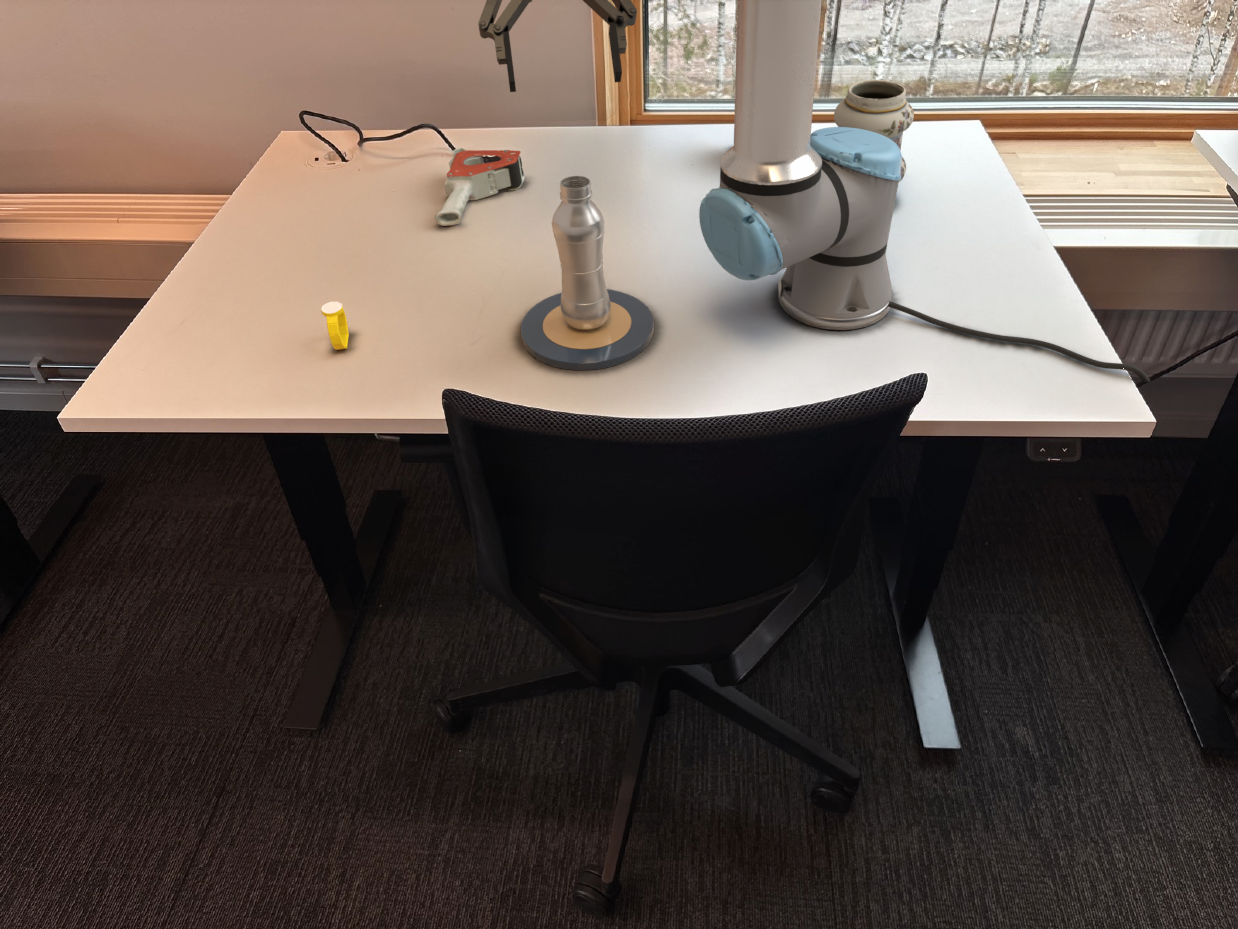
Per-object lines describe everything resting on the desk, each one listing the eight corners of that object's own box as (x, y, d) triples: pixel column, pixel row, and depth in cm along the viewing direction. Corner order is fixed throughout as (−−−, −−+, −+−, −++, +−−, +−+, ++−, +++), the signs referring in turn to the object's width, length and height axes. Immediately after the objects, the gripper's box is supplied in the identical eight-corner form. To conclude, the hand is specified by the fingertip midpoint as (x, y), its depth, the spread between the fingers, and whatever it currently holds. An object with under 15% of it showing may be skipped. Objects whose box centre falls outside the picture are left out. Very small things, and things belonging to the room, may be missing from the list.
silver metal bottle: (606, 337, 118) (597, 195, 104) (556, 333, 119) (541, 192, 106) (616, 311, 123) (608, 171, 109) (568, 307, 124) (555, 169, 110)
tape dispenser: (445, 240, 145) (549, 197, 152) (438, 211, 141) (545, 168, 148) (399, 197, 155) (499, 158, 162) (391, 168, 152) (494, 130, 158)
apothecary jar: (823, 183, 151) (836, 73, 139) (897, 185, 149) (916, 74, 137) (824, 217, 142) (838, 103, 130) (902, 220, 141) (923, 104, 128)
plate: (679, 320, 123) (679, 312, 122) (598, 387, 112) (597, 379, 112) (578, 282, 131) (577, 274, 130) (494, 341, 121) (492, 333, 120)
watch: (335, 332, 124) (323, 295, 120) (355, 330, 124) (344, 293, 120) (330, 357, 120) (318, 319, 116) (351, 355, 120) (339, 317, 116)
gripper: (638, -68, 120) (658, 86, 119) (451, -53, 118) (470, 104, 117) (643, -107, 112) (665, 58, 111) (444, -91, 111) (464, 76, 110)
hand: (565, 82), depth 114 cm, fingers open, 13 cm apart
